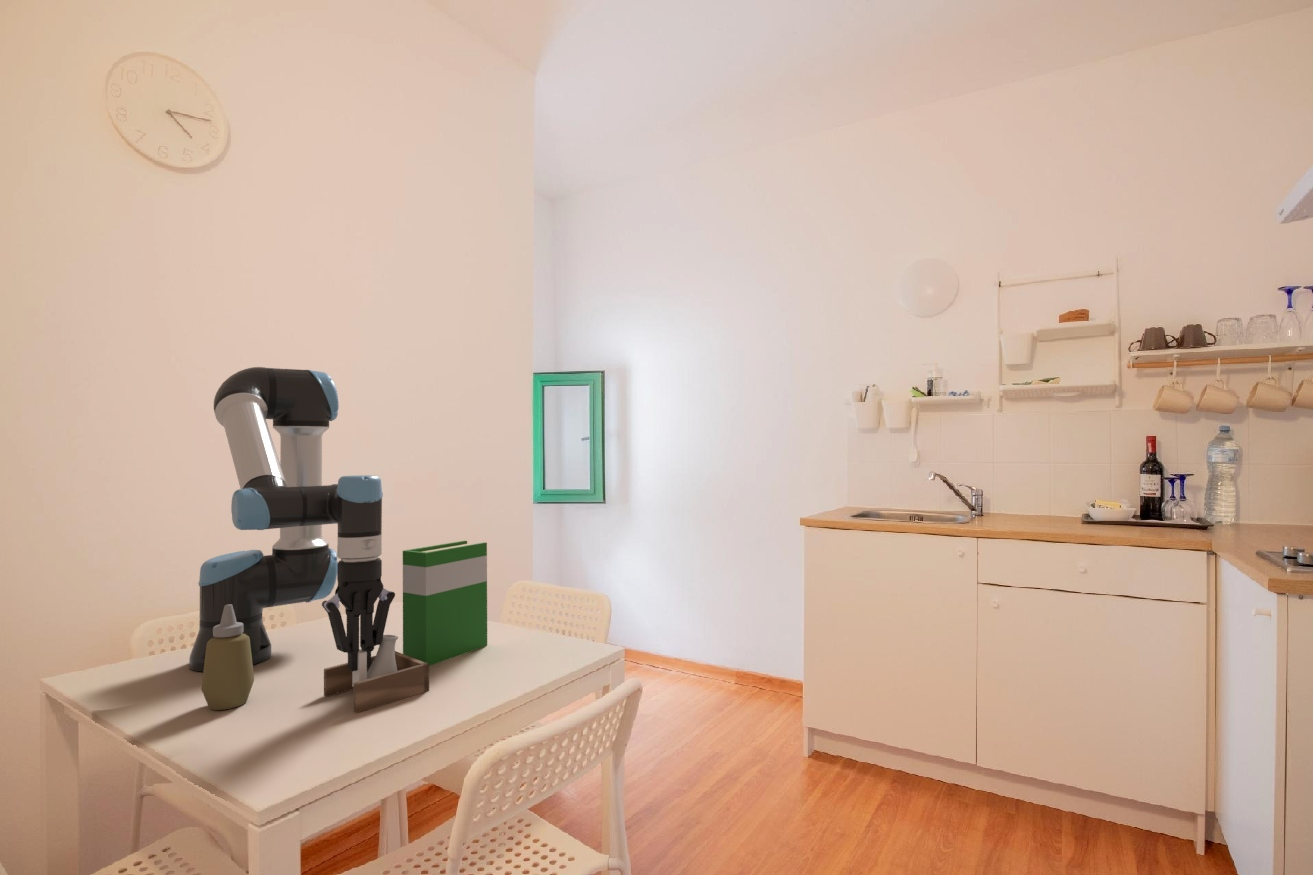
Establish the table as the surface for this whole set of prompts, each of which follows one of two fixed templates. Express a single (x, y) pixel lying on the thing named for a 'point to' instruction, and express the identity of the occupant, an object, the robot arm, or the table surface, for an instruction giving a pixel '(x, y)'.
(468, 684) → the table surface
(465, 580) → the hardback book
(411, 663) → the box
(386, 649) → the flask
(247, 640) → the squeeze bottle
